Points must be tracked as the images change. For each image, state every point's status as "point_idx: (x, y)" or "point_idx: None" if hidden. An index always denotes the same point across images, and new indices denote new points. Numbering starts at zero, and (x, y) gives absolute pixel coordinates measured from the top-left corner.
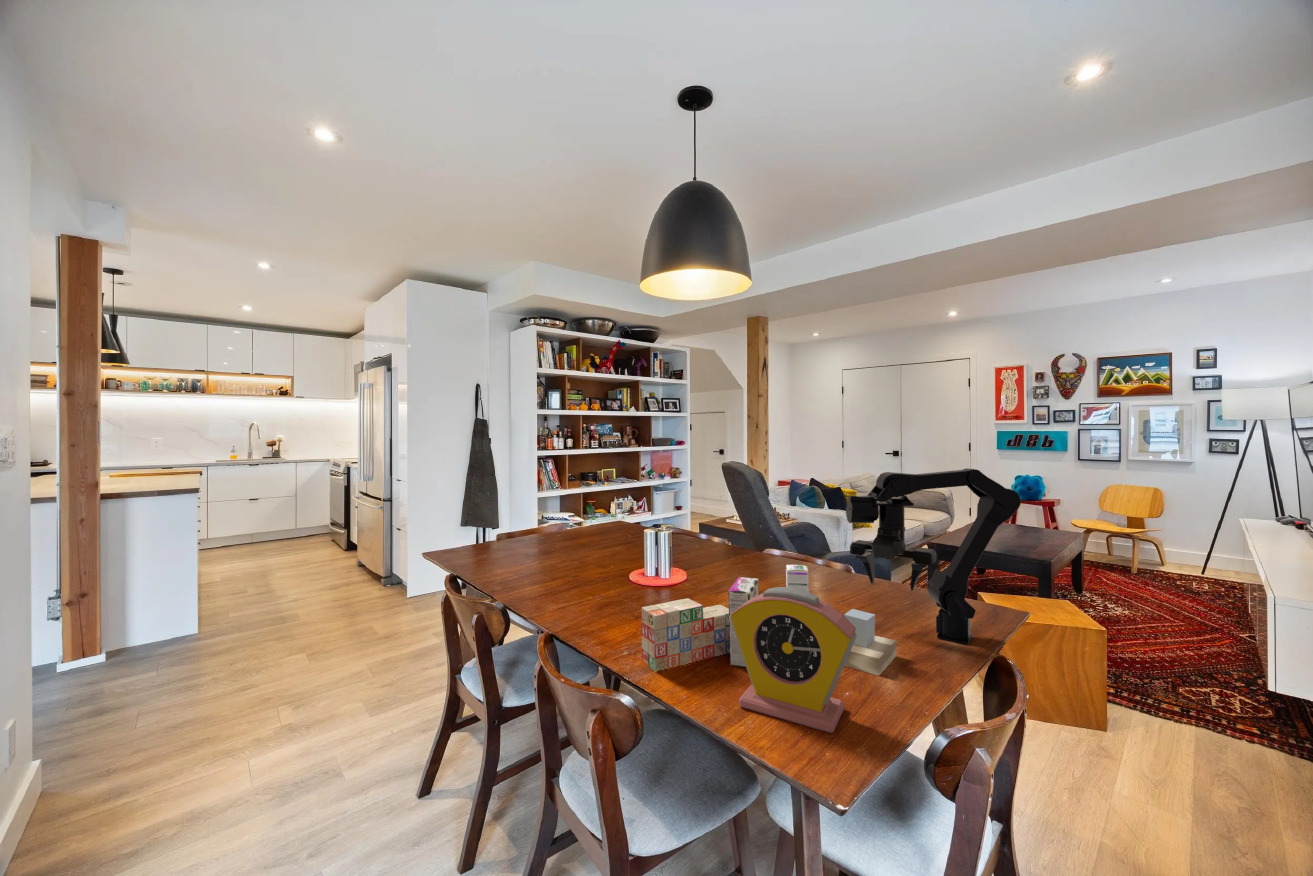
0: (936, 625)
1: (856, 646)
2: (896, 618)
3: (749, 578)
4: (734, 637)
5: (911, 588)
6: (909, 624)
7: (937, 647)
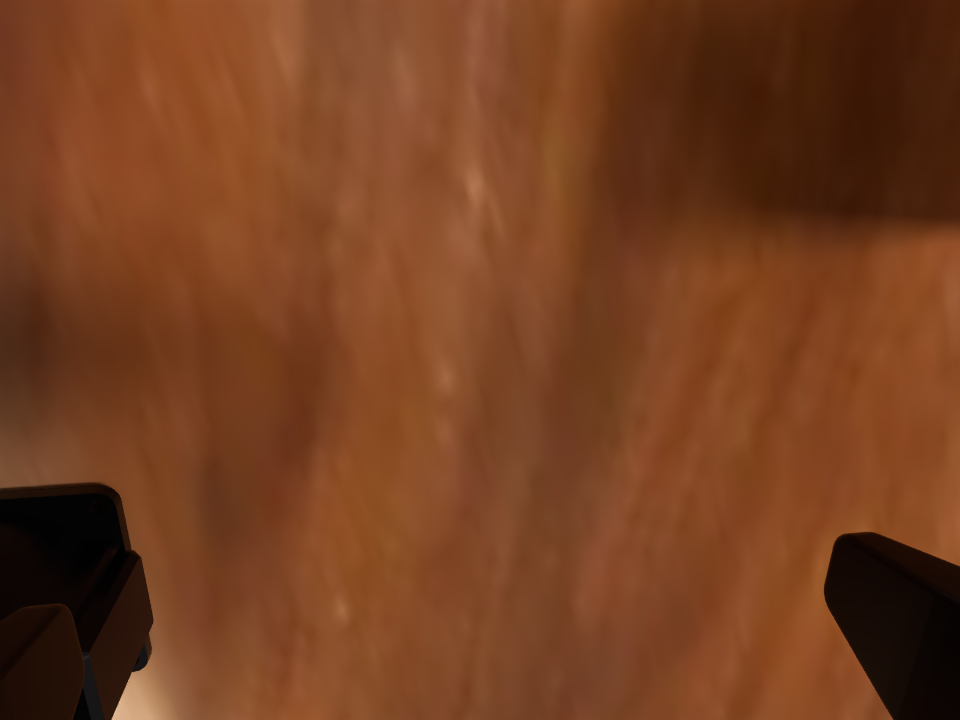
0: (116, 592)
1: None
2: (497, 659)
3: None
4: None
5: (17, 627)
6: (387, 615)
7: (28, 296)
